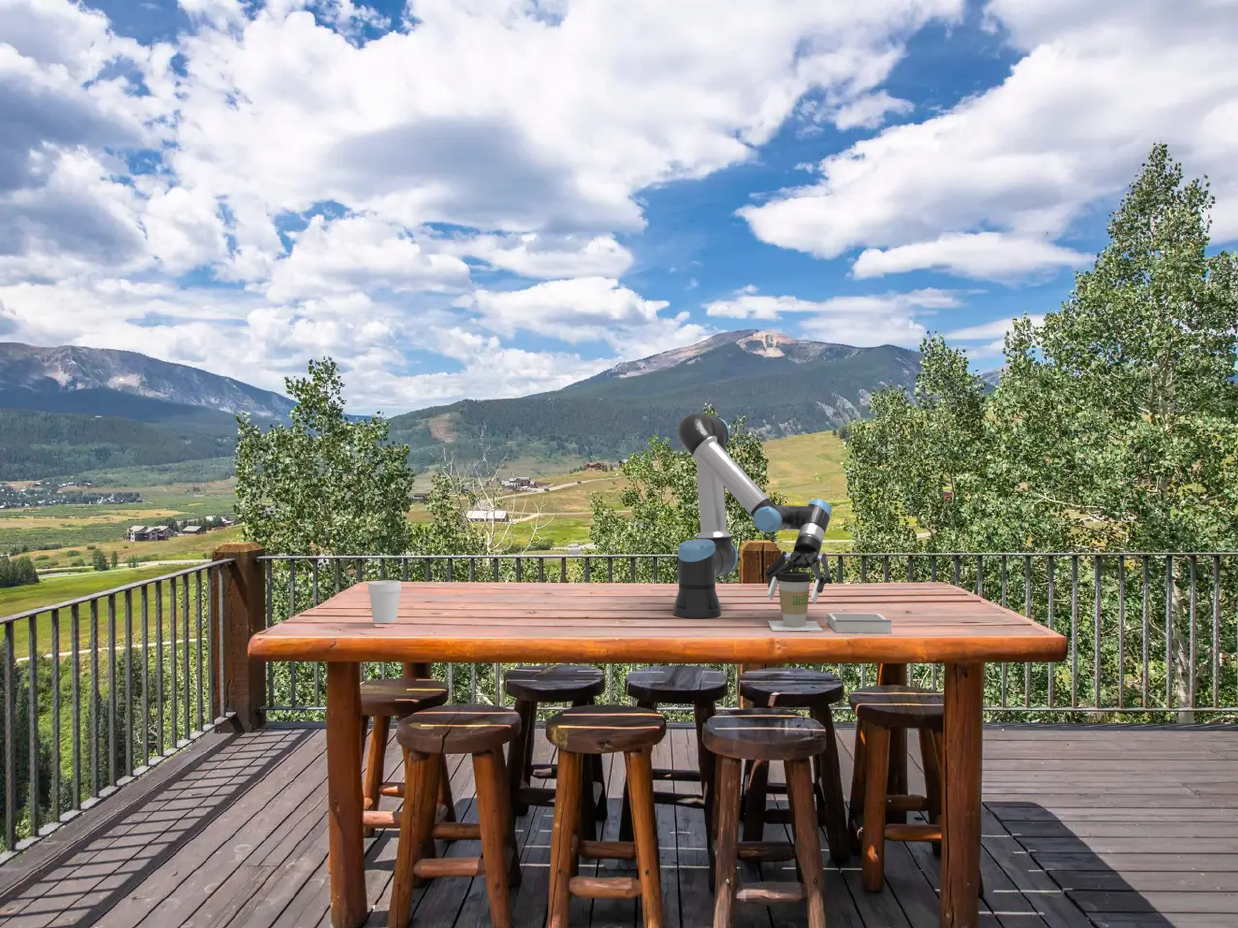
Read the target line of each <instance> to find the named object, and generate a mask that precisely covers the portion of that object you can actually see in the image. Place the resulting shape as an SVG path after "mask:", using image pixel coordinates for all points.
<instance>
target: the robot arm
mask: <svg viewBox="0 0 1238 928" xmlns="http://www.w3.org/2000/svg"><path fill="white" fill-rule="evenodd" d="M677 433H678V434H677V436H678V438H679V440H680V443H681V444H682V445H683V447H684V448H685V449H686V450H687V451H688V453H690V454H691V457H692V458H693V459H694V460H695V461H696V473H697V474H696V475H697V490H698V491H697V493H698V506H699V522H700V525H699V526H700V532H699V534H698V535H697V536H696V539H690V540H685V541H682V542H681V543H680V544H679V546H678V552H677V553H678V554H677V555H678V556H677V558H678V592H677V595H676V598H675V601H674V605H673V615H674V616H677V617H681V618H688V619H689V618H691V619H703V618H705V619H706V618H709V619H710V618H716V617H720V616H721V615H722V607H721V603H720V600H719V597H718V595H717V591H716V578H717V577H724V576H726V575H727V574H729V573H731V572H732V571H733V570H734V569H735V567H736V566H737V564H738V559H739V553H738V551H737V548H736V546H735V545H734V544H733V539H732V534H730V533H729V532H728V531H727V520H726V519H727V515H726V503H725V502H726V500H725V488H726V490H727V491H728V492H729V493H730V494H731V495H732V496H733V497H734V498H735V499H736V500H737V501H738V503H739V504H740V505H741V506H742V507H743V508H744V509H745V510H746V511H747V512H748V514H749V515H750V516H751V517H752V518H753V523H754V525H755V528H756V529H757V530H758V531H761V532H763V533H764V532H765V533H773V532H777V531H785V530H791V531H792V530H793V531H795V530H796V531H799V532H798V535H797V538H796V541H795V544H794V547H793V551H792V552H791V553H787V551H785V550H784V551H782V552H781V554H780V555H779V558H777V559H776V561H775V562H773V564H772V565H771V566H770V567H769V568H767V570H766V571H765V576H766V578H767V580H768V582H767V583H768V584H767V587H768V590H767V597H768V599H769V601H772V600H774V596H775V594H776V589H777V587H778V586H779V582H778V580H777V577H778V576H779V573H780V572H785V571H794V570H796V568H797V569H808V568H810V569H811V571H812V572H813V573H814V575H815V577H816V579H815V583H814V586H813V589H812V592H811V596H810V599H811V600H812V601H811V602H812V604H817V601H818V597H819V594H822V593H823V591H824V588H825V585H826V584H830V585H831V584H832V583H833V581H832V576H831V573H830V570H829V569H830V568H829V566H828V564H829V563H828V562H829V558H828V556H827V553H826V552H824V553H822V554H820V552H821V548H822V545H823V541H824V538H825V535H826V532H827V528H828V525H829V522H830V520H831V514H832V507H831V504H830V503H829V502H827V501H826V500H824V499H821V498H815V499H812V500H810V501H809V502H808V504H807V506H806V505H782V504H775V503H774V502H773V501H771V499H770V498H769V497H768V496H767V494H766V493H764V492H763V490H762V489H761V488H760V487H759V486H758V485H757V484H756V483H755V482H754V481H753V480H752V478H751V477H749V475H748V474H747V473H746V472H745V471H744V470H743V468H741V466H740V465H739V464H738V463H737V462H736V461H735V460H734V459H733V458H732V457H731V456H730V455H729V454H728V453H727V445H728V443H729V441H730V438H731V431H730V427H729V425H728V423H727V422H726V421H725V420H724V419H723V418H721V417H719V416H717V415H714V414H704V413H695V412H693V413H690V414H688V415H685V417H683V418H682V420H681V421H680V422H679V424H678V428H677ZM724 487H725V488H724ZM818 561H820V563H821V564H822V568H823V571H824V575H825V576H823V575H822V573H821V572H820V570H819V569H818V567H817V565H816V563H817V562H818Z"/></svg>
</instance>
